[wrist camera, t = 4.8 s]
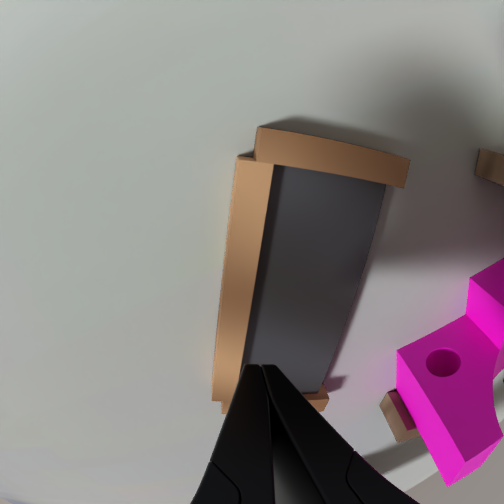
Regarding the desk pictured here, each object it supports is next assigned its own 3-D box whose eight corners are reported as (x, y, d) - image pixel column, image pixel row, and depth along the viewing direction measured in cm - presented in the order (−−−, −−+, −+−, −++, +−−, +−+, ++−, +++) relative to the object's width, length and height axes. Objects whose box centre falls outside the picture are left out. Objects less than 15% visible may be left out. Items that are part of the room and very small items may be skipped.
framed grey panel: (510, 380, 19) (530, 406, 15) (208, 429, 15) (210, 491, 11) (589, 197, 12) (622, 214, 8) (254, 36, 8) (278, -14, 4)
